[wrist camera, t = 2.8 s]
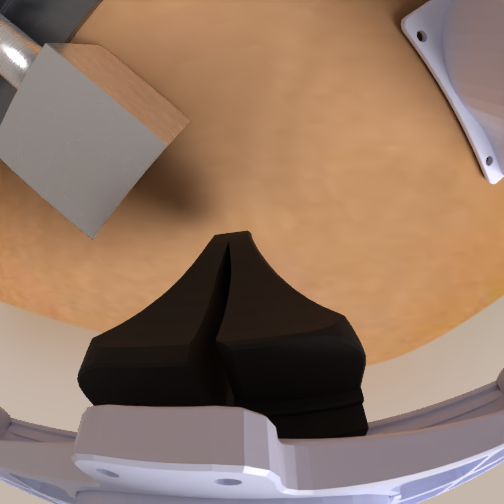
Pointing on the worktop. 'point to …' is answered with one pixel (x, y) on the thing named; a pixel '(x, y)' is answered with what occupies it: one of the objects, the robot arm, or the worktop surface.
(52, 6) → the hitch block
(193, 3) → the worktop surface
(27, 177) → the hitch pin
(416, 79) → the worktop surface
